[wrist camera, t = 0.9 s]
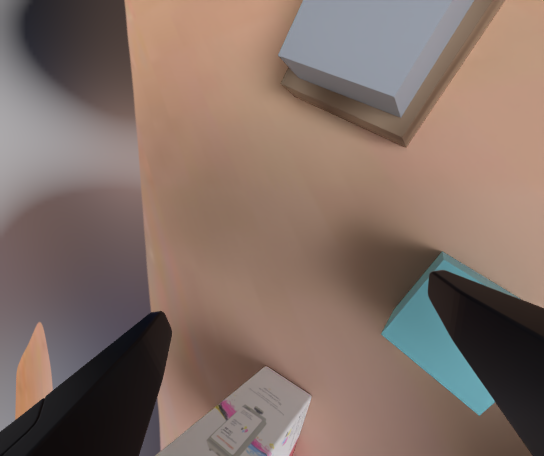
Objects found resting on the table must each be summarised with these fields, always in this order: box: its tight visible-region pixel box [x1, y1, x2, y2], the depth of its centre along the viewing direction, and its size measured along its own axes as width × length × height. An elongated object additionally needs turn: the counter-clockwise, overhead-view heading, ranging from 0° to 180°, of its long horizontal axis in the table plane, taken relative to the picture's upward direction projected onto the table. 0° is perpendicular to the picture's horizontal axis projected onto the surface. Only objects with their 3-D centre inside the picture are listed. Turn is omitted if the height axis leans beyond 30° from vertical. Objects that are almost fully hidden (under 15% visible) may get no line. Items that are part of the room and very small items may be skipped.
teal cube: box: [381, 251, 520, 416], centre depth 14 cm, size 5×5×5 cm
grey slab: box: [278, 0, 474, 118], centre depth 15 cm, size 8×8×3 cm
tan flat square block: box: [281, 0, 505, 147], centre depth 18 cm, size 10×10×3 cm
